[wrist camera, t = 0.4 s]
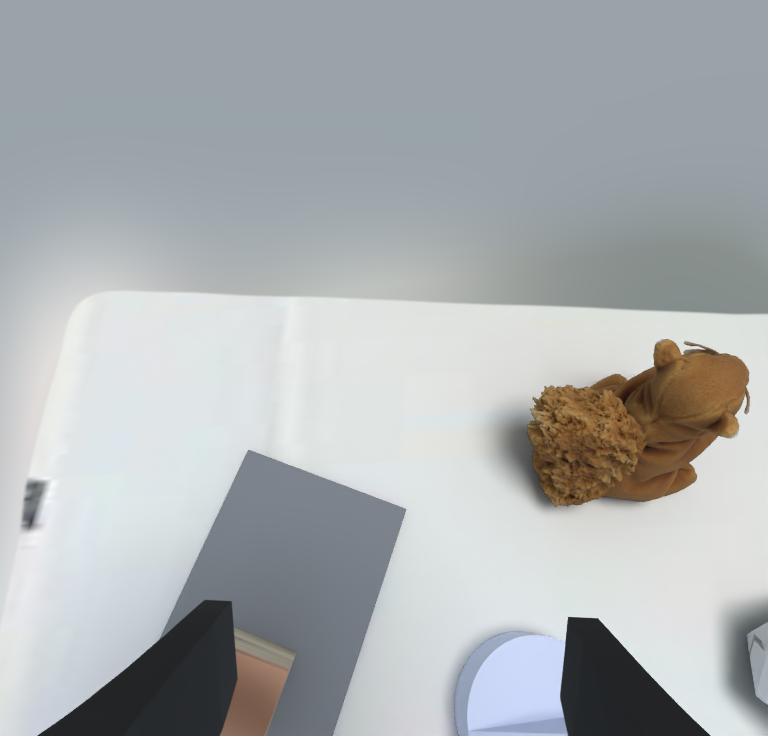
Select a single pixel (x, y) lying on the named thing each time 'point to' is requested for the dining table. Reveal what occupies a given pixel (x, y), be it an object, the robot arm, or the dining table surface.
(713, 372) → the brown furry figure
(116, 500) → the dining table surface
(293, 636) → the rubber mat
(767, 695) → the die
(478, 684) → the wedge on round base
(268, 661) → the maple block
